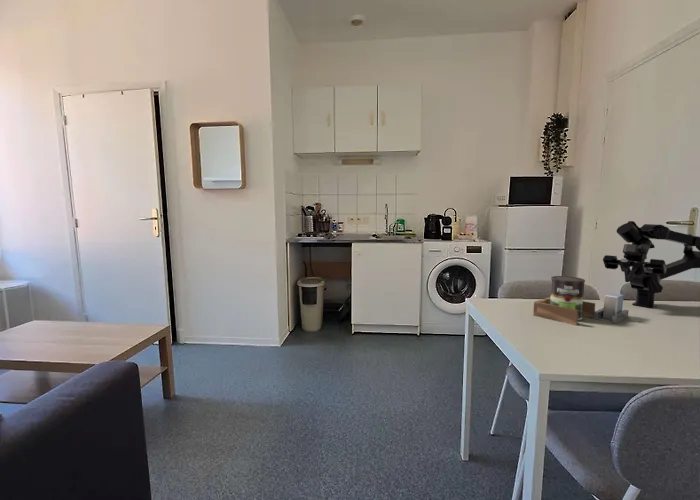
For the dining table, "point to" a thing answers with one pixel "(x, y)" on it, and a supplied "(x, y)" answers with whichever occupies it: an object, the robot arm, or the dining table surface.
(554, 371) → the dining table surface
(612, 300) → the blue block white cap
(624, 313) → the rails
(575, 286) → the coffee can
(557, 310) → the walnut bay
